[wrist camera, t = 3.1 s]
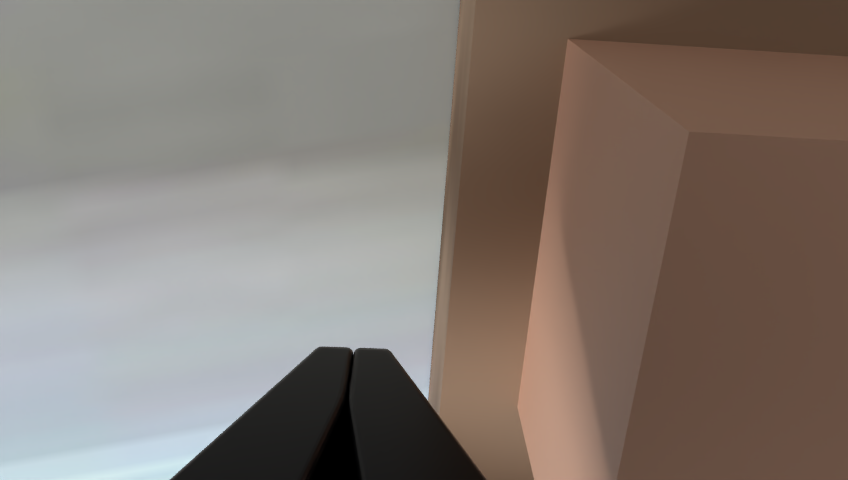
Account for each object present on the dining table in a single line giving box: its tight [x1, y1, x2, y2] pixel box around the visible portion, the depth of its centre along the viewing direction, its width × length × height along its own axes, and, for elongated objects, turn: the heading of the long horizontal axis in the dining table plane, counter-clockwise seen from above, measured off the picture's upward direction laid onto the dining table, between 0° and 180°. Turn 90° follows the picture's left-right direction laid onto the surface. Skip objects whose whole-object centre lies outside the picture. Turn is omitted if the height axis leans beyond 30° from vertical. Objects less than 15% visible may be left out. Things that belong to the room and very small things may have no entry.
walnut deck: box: [428, 0, 848, 480], centre depth 15 cm, size 16×10×3 cm, turn 176°
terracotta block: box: [517, 39, 848, 480], centre depth 11 cm, size 7×6×6 cm
